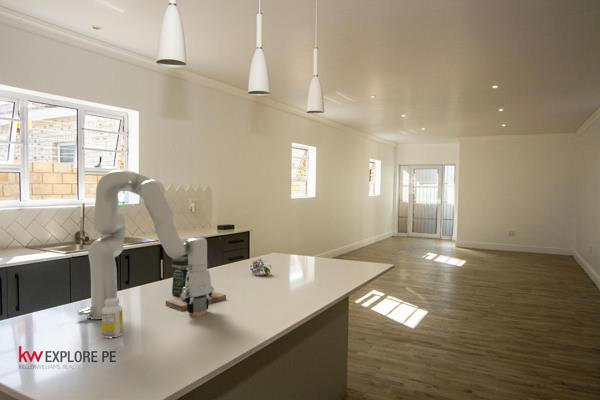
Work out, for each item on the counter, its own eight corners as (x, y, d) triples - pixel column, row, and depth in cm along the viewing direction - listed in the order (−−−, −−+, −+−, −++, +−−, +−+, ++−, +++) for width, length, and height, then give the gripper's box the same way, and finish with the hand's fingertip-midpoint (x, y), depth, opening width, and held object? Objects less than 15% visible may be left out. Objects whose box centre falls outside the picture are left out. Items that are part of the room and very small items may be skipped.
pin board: (180, 310, 173) (180, 306, 173) (165, 305, 181) (165, 300, 181) (226, 299, 191) (226, 294, 191) (210, 294, 199) (210, 290, 199)
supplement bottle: (117, 330, 149) (116, 295, 149) (126, 335, 145) (125, 299, 145) (98, 336, 144) (97, 299, 144) (107, 340, 140) (106, 303, 139)
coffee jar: (169, 295, 197) (168, 257, 197) (180, 291, 205) (180, 254, 204) (185, 297, 193) (184, 258, 193) (195, 293, 201) (195, 256, 200)
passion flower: (255, 284, 242) (243, 268, 243) (264, 277, 251) (253, 261, 252) (267, 276, 236) (255, 259, 237) (276, 269, 246) (265, 252, 247)
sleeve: (195, 316, 165) (195, 299, 165) (186, 313, 170) (186, 296, 170) (209, 313, 170) (209, 296, 170) (200, 309, 175) (199, 293, 175)
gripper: (184, 272, 161) (185, 317, 161) (220, 266, 174) (220, 307, 174) (174, 269, 165) (174, 313, 166) (209, 263, 178) (209, 304, 179)
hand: (198, 310), depth 170 cm, fingers closed on sleeve, 6 cm apart
